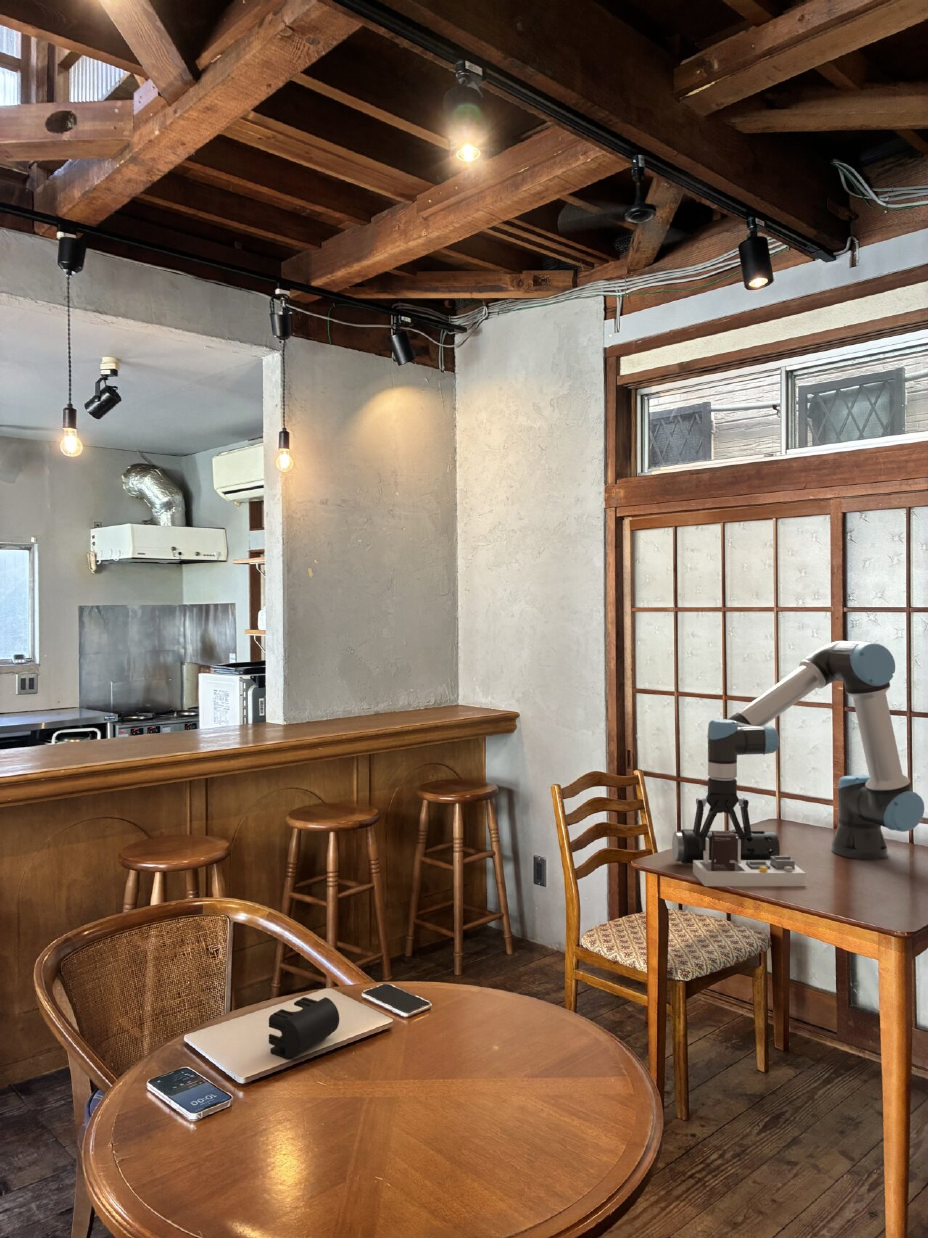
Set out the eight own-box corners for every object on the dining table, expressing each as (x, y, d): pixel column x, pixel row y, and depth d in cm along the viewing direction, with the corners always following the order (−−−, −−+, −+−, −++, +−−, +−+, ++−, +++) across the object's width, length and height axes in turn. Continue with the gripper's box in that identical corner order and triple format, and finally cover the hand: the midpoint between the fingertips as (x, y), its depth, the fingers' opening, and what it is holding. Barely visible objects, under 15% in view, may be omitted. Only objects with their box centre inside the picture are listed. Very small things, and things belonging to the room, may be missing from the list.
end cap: (299, 1066, 142) (299, 1024, 142) (266, 1054, 146) (266, 1013, 146) (340, 1041, 151) (340, 1000, 151) (308, 1030, 154) (308, 991, 154)
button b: (763, 874, 243) (763, 859, 243) (769, 879, 239) (769, 864, 239) (746, 874, 243) (746, 859, 243) (751, 879, 239) (751, 864, 239)
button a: (788, 869, 243) (788, 853, 243) (794, 874, 239) (794, 858, 239) (770, 869, 243) (770, 854, 243) (776, 874, 239) (776, 858, 239)
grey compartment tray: (788, 872, 247) (788, 856, 247) (805, 886, 235) (805, 869, 235) (692, 872, 247) (693, 856, 247) (704, 886, 235) (704, 869, 235)
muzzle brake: (780, 871, 249) (780, 834, 248) (678, 871, 249) (678, 834, 249) (769, 862, 258) (769, 826, 258) (671, 861, 259) (671, 825, 259)
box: (712, 879, 239) (713, 834, 239) (710, 874, 244) (711, 830, 243) (735, 881, 238) (736, 836, 238) (733, 876, 243) (734, 831, 242)
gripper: (756, 775, 244) (755, 858, 245) (680, 775, 244) (680, 858, 245) (765, 780, 237) (765, 866, 237) (687, 780, 237) (687, 866, 237)
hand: (721, 862), depth 241 cm, fingers open, 8 cm apart
